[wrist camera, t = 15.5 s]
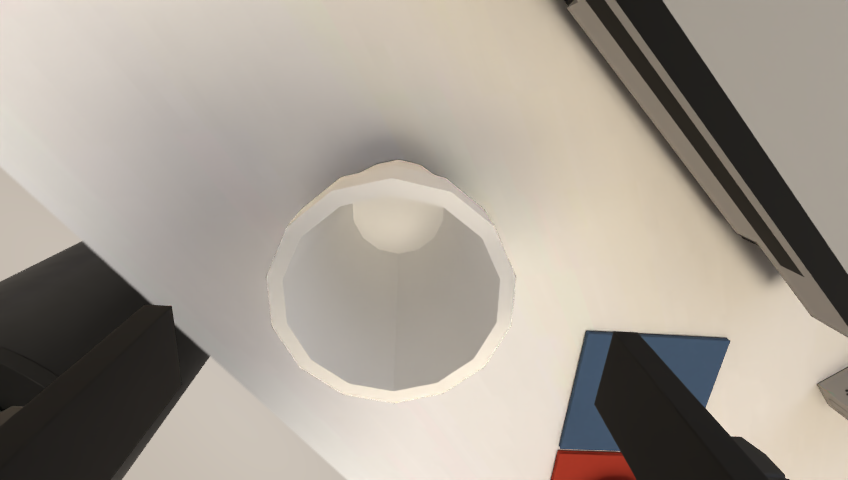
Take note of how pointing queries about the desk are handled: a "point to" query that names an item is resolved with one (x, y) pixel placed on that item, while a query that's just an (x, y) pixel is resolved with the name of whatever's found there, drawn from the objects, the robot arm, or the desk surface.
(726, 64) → the game console
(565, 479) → the red mat
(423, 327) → the foam cup
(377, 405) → the desk surface
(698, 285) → the desk surface
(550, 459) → the desk surface
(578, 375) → the blue mat
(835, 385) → the cassette player
